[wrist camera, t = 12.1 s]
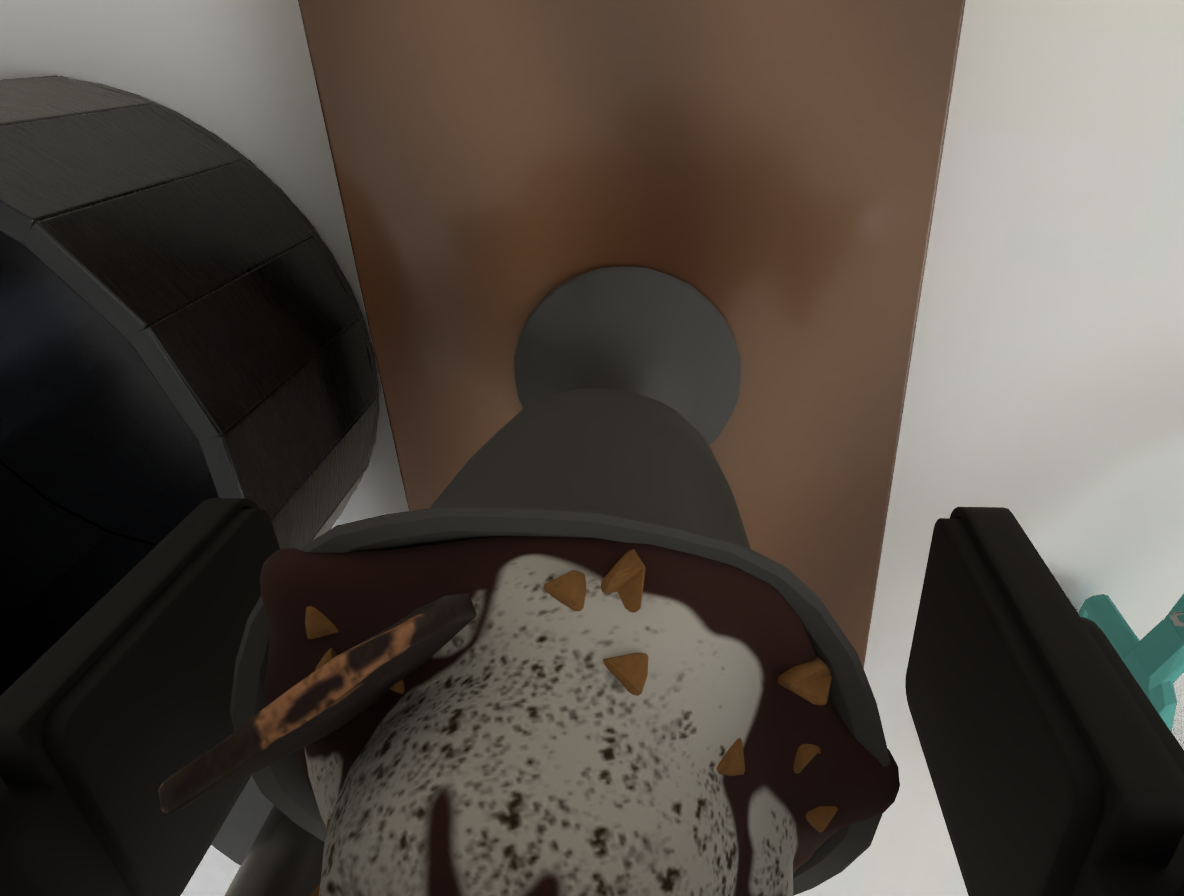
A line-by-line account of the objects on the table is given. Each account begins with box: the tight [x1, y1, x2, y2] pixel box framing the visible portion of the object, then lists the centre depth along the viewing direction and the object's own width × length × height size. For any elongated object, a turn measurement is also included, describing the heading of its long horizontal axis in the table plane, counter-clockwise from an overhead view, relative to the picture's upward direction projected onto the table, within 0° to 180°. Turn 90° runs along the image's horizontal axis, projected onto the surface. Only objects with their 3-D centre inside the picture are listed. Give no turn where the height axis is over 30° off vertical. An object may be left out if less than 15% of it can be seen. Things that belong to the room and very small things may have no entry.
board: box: [298, 0, 965, 669], centre depth 17 cm, size 12×20×2 cm, turn 4°
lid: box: [211, 776, 325, 896], centre depth 24 cm, size 14×14×7 cm
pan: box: [0, 76, 379, 696], centre depth 17 cm, size 13×13×6 cm
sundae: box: [158, 266, 900, 896], centre depth 10 cm, size 7×7×15 cm
